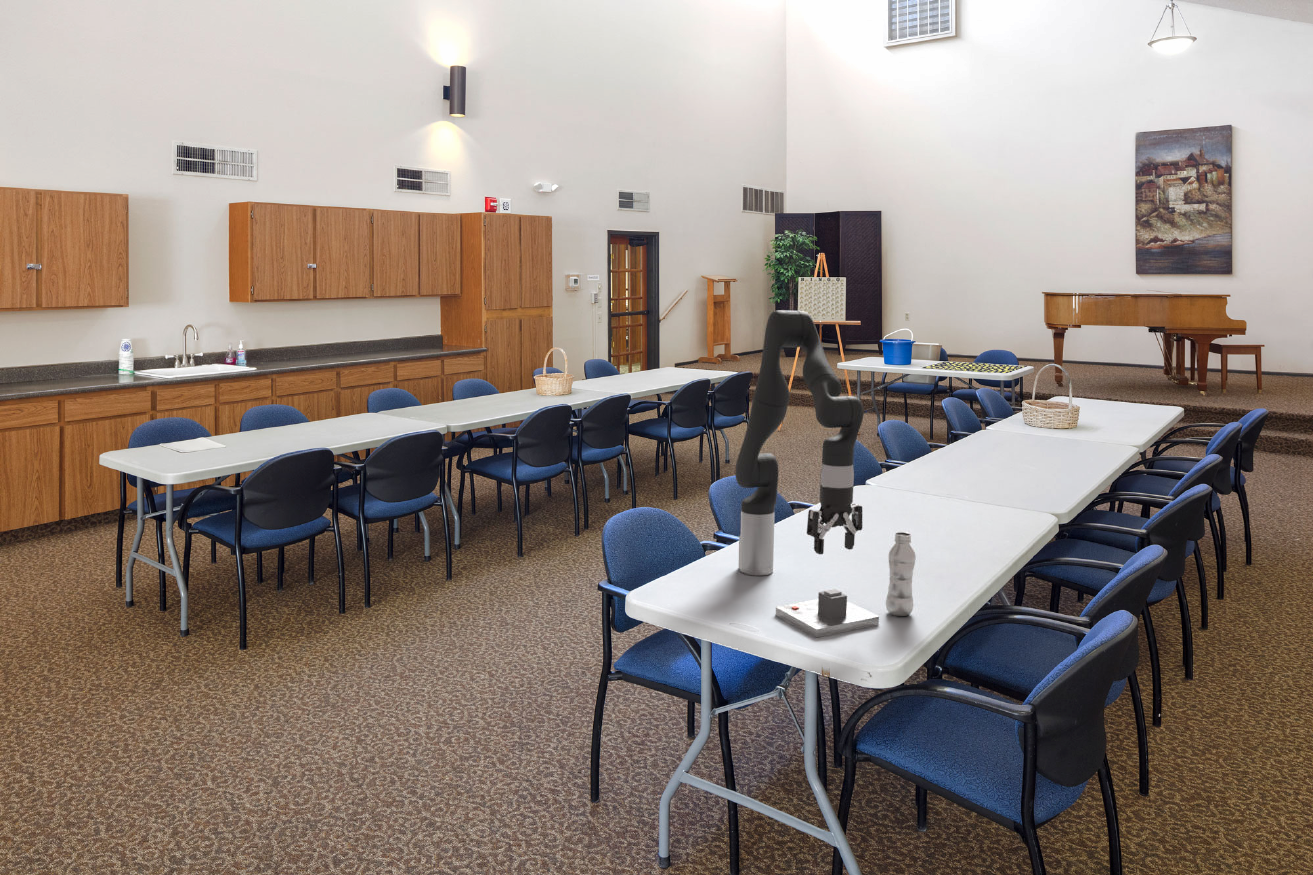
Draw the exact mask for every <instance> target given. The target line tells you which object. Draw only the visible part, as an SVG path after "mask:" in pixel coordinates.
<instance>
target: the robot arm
mask: <svg viewBox="0 0 1313 875" xmlns="http://www.w3.org/2000/svg"><path fill="white" fill-rule="evenodd" d="M783 348H801V349H802V351H804V353H806V354H805V359H804V362H803V366H802V378H803V380H804V383H805V385H806V387H807V389H808V390H809V392H810V393H811V395H812V398H813V400H812V401H813V404H814V411H815V418H816V420H817V422H818V423H819V425H821V427H824V428H827V429H834V428H840V430H839V432H838V433H837V434H836V435H834V436H831V437H827V438H825V439H824V440H823V443H822V453H821V454H822V455H821V456H822V457H821V468H820V476H819V477H820V481H819V502H820V508H819V510H818V509H817V510H815V509H808V513H807V525H806V534H807V535H808V536H809V537H810V536H811V537H813V540H814V541H813V549H814V552H815V553H816V554H818V555H824V549H825V548H824V547H825V546H824V545H825V539H824V537H825V535H826V534H827V532H830V530H831V528H836V527H843V529H844V530H845V531H846V532H844V548H845V549H846V550H853V549H854V546H855V539H856V537H855V536H856V535H855V534H857V532H858V531H862V530H863V506H862V505H860V504H856V503H853V501H854V478H855V476H854V475H855V472H854V454H855V445H856V443H857V442H856V441H857V438H858V436H859V432H860V430H861V426H862V423H863V419H864V413H865V412H864V406H863V403H862V401H861V400H860V399H859V398H858V397H856V396H852V395H850V396H849V395H848V396H847V395H845V396H840V395H841V394H842V390H843V387H842V386H843V385H842V383H841V381H840V380H839V377H838V376H837V375H836V373H835V371H834V369H833V368H832V366H831V365H830V362H829V361H828V358H827V356H826V353H825V350H824V347H823V343H822V341H821V338H820V334H819V333H818V330H817V327H816V324H815V322H814V320H813V318H812V315H810V313H808V312H807V311H803V310H784V309H781V310H779V309H778V310H773V311H772V312H771V313H770V314H769V317H768V319H767V323H766V326H765V331H764V339H763V347H762V353H761V354H762V355H761V361H760V367H759V373H758V376H757V377H758V378H757V382H756V386H755V390H754V393H753V397H752V403H751V408H750V412H749V418H748V423H747V427H746V430H745V434H744V439H743V441H742V443H741V447H740V450H739V453H738V456H737V459H736V465H735V470H734V471H735V473H734V474H735V480H736V483H737V485H738V486H740V487H741V488H745V489H746V488H747V489H750V488H751V489H753V488H754V489H755V488H757V489H756V490H755V491H754V492H753V493H752V494H751V495H749V496H747V497H745V498H743V499H742V501H741V503H740V535H739V536H738V569H739V571H740V572H741V573H742V574H745V575H749V576H759V577H760V576H768V575H771V574H772V573H774V554H775V553H774V552H775V551H774V548H775V511H776V510H775V508H776V505H777V499H778V484H779V464H778V460H777V458H776V456H775V455H774V454H773V453H770V452H761V450H762V448H763V446H764V444H765V443H766V442H767V441H768V439H769V438H770V437H771V436H772V435H773V434H774V433H775V431H777V429H778V428H779V427H780V425H782V423H783V422H784V419H785V417H786V415H787V411H788V406H789V402H790V397H791V396H790V395H791V394H790V393H791V391H790V388H789V385H788V383H787V381H786V378H785V375H784V374H783V371H782V368H781V365H780V362H781V360H780V358H781V352H782V349H783ZM850 515H851V518H850ZM824 524H825V525H824Z"/></svg>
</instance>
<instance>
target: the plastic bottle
mask: <svg viewBox="0 0 1313 875" xmlns="http://www.w3.org/2000/svg"><path fill="white" fill-rule="evenodd" d="M911 538H912V535H911V533H908V532H905V531H902V532H901V531H899V532H895V534H894V544H893V546H892V547H891V548H890V550H889V551H888V556H887V557H888V568H889V582H888V591H887V595H886V598H885V607H886V608H885V609H886V610H887V612H888V613H889V614H891V615H893V616H898V617H906V616H909V615H911V613H912V612H913V610H914V598H913V584H912V583H913V576H914V569H915V564H916V558H917V555H916V552H915V551H914V549H913V547H912V546H911V543H912V540H911Z"/></svg>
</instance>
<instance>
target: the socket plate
mask: <svg viewBox="0 0 1313 875" xmlns="http://www.w3.org/2000/svg"><path fill="white" fill-rule="evenodd" d="M775 616H776V617H778V618H781V619H782V620H784V621H785V622H787V623H789V624H791V625H793V626H795V627H796V628H798V629H800V630H802V631H803V632H806V633H807V634H809V635H810V636H813V637H814V638H821V637H822V638H823V637H826V636H831V635H836V634H840V633H841V634H842V633H844V632H849V631H854V630H859V629H863V628H864V629H865V628H869V627H873V626H874V627H875V626H878V625H879V620H880V616H879V615H877V614H875V613H873V612H870V611H869V610H866V609H865V608H862V607H860V606H858V605H856V604H854V603H851V602H849V601H847V612H846V616H845V617H840V618H835V619H830V618H828V617H826V616H824V615H822V614H820V613H818V599H811V600H807V601H801V602H796V603H790V604H785V605H781V606H780V605H779V606H776V607H775Z"/></svg>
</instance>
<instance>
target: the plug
mask: <svg viewBox="0 0 1313 875" xmlns="http://www.w3.org/2000/svg"><path fill="white" fill-rule="evenodd" d="M842 592H843V591H840V590H838V589H836V588H832V589H828V590H822V591H818V613H820V614H822V615H824V616H826V617H828V618H830V619H835V618H840V617H845V616H846V612H847V602H848V595H846V594H844V593H842Z"/></svg>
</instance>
